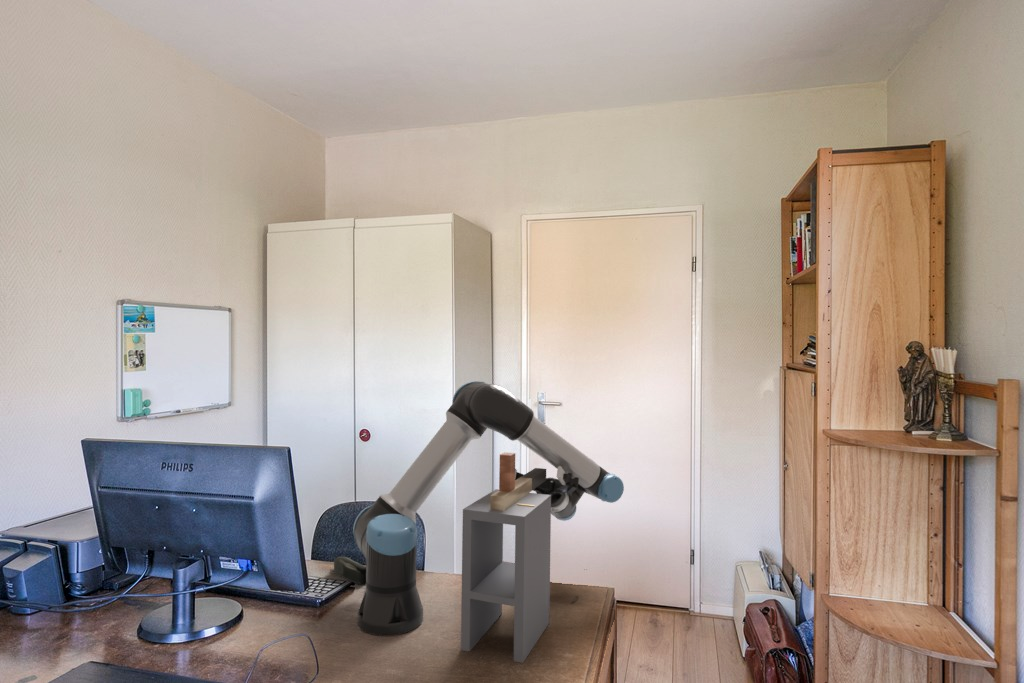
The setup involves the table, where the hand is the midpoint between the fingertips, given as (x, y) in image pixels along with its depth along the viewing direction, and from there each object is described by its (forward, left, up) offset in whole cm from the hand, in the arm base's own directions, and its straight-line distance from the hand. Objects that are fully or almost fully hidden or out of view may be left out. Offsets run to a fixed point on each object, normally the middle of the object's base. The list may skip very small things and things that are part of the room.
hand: (532, 469), depth 149 cm
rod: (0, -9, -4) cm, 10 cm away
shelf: (0, -17, -34) cm, 38 cm away
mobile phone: (-52, -3, -34) cm, 63 cm away
